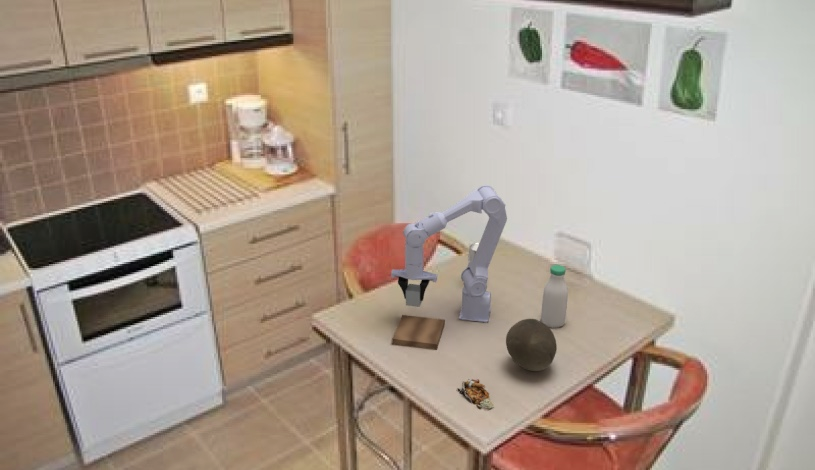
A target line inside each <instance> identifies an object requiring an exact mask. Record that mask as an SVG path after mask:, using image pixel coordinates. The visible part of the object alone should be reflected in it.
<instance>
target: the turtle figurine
mask: <svg viewBox="0 0 815 470" xmlns="http://www.w3.org/2000/svg"><path fill="white" fill-rule="evenodd" d="M480 381H481V380H480V379H473V378H471V380H470V379H469V378H468V379H467V380H466V381H463V380H462V381H461V387H462V389H460V388H456V392H458V393H459V395H462V394H464V395H465V398H467V399H469V401H470V404H471V405H476V406H475V407H477V408H478V409H479V410H483V411H485V412H486V411H489V410H490V409H493V408H494V406H495V405H494V402H493V401H492V399H491V398H490V393H489V392H488V391H487V390H486V389H485V388H486V384H483V383H480Z"/></svg>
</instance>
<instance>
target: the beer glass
mask: <svg viewBox="0 0 815 470" xmlns="http://www.w3.org/2000/svg"><path fill="white" fill-rule="evenodd" d="M479 243H480V242H476V243H471V244H470V245H469V247H468V248H469V249H468V256H467V257H468V258H467V261H468V262H467V263H470V262H472V261H473V259H474V256H475V254H476V251H477V248H478V246H479Z"/></svg>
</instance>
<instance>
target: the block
mask: <svg viewBox="0 0 815 470" xmlns="http://www.w3.org/2000/svg"><path fill="white" fill-rule="evenodd" d="M420 294H421V291H420V284H416V283H408V287H407V289H406V299H405V306H408V307H415V308H418V307H419V308H420V307H421V305H422V303H423V301H420Z"/></svg>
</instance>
